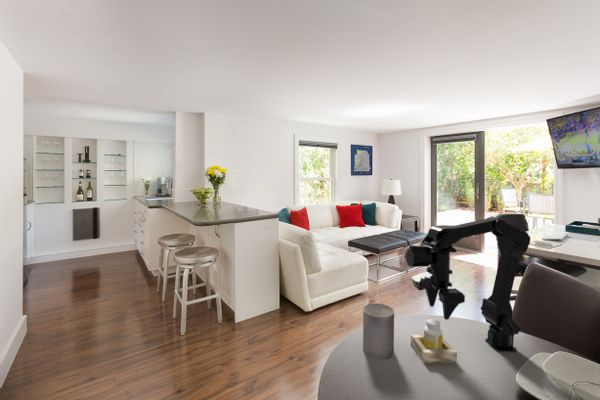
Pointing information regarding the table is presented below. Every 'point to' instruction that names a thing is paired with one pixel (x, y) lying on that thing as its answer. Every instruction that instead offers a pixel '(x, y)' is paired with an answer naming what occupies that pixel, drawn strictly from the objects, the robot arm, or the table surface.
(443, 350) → the square holder
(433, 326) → the supplement bottle
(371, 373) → the table surface
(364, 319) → the pillar candle
